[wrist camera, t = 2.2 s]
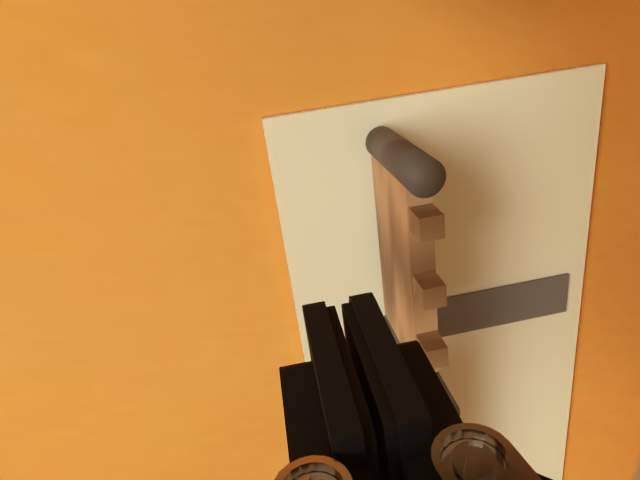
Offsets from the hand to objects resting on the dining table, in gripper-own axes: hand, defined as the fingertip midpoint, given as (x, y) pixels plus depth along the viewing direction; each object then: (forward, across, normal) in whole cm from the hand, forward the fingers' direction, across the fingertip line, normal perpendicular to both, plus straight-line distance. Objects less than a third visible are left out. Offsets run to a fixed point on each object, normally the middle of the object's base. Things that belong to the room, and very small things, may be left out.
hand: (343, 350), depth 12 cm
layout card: (+12, -7, +11) cm, 18 cm away
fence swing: (+12, -4, +3) cm, 13 cm away
